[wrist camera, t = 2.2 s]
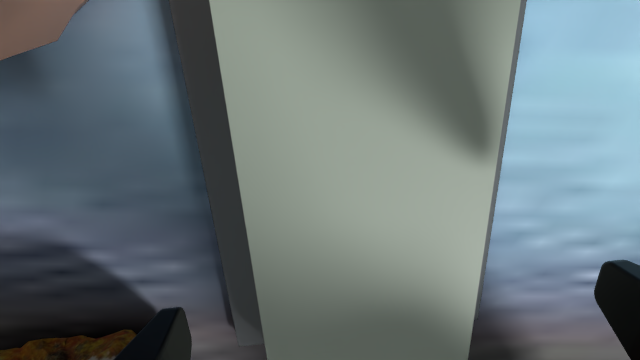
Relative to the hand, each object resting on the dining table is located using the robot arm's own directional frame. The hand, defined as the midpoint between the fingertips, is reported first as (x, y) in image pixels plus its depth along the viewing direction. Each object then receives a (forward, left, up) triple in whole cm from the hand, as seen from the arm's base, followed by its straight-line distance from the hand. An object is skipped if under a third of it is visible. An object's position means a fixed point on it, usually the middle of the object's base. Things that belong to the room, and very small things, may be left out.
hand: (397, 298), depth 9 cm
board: (0, 0, -5) cm, 5 cm away
